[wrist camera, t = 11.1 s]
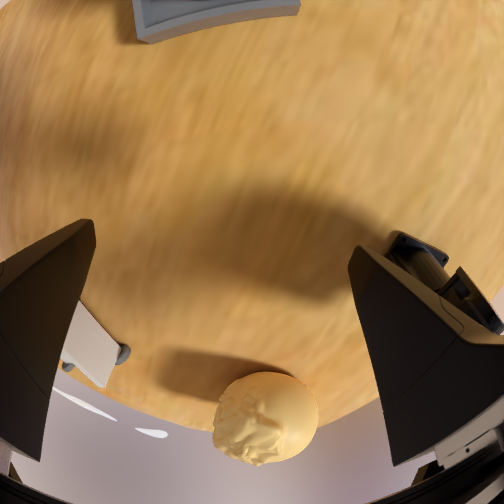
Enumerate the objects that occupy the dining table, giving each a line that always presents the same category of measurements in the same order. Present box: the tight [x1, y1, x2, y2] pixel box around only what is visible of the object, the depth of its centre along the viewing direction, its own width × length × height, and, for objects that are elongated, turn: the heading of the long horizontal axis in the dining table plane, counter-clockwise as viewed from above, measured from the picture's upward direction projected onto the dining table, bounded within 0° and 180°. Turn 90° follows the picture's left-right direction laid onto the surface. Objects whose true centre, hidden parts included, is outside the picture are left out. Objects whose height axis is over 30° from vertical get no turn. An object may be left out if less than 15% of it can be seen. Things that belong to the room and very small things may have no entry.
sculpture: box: [213, 372, 318, 466], centre depth 29 cm, size 12×12×11 cm
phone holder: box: [60, 301, 131, 388], centre depth 27 cm, size 18×10×12 cm
